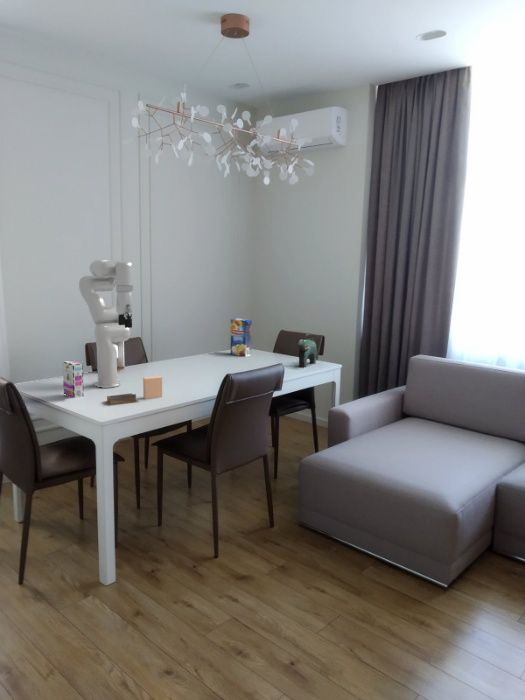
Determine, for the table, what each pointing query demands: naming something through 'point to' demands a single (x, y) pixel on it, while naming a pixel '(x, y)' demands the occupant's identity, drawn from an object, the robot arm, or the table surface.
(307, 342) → the green elephant figurine
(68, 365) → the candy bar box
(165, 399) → the table surface
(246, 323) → the juice carton
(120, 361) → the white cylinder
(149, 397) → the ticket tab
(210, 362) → the table surface
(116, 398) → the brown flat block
